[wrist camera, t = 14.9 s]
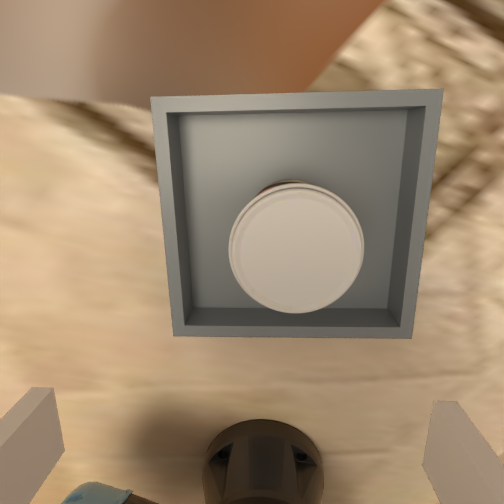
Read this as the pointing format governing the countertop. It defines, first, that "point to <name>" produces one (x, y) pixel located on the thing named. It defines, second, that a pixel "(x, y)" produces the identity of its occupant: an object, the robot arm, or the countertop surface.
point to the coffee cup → (296, 247)
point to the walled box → (307, 170)
